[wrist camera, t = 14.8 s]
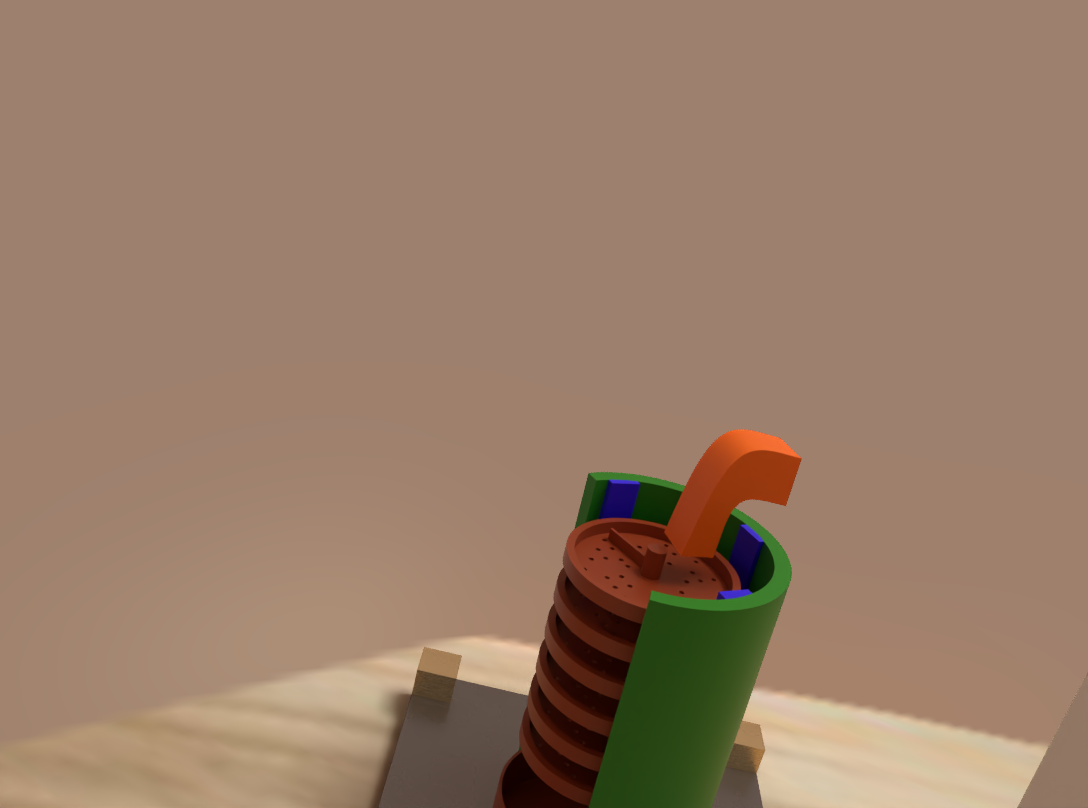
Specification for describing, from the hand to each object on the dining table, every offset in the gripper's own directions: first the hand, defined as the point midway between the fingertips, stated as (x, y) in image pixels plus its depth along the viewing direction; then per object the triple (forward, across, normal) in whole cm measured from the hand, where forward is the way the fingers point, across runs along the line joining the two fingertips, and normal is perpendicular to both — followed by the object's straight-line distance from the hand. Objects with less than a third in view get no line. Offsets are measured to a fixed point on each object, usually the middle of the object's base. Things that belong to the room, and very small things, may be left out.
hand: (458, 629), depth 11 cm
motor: (+27, +8, -28) cm, 39 cm away
